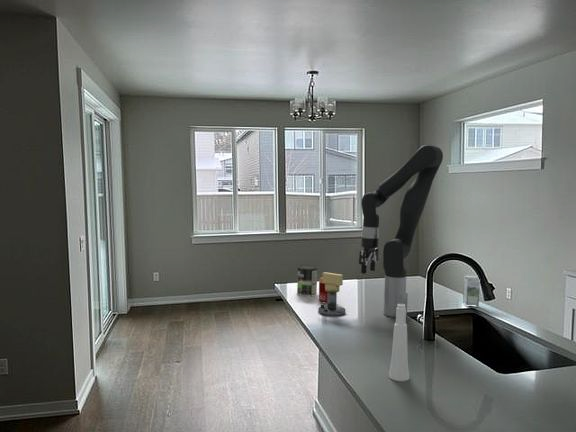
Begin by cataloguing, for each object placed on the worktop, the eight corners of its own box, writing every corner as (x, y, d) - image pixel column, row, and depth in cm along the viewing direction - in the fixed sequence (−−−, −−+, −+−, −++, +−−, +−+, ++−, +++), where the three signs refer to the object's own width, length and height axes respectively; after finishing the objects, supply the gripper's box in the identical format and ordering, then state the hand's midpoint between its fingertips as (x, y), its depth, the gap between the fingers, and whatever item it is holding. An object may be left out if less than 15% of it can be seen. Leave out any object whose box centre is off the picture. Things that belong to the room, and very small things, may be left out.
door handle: (344, 290, 205) (345, 274, 205) (337, 293, 200) (337, 276, 199) (324, 287, 211) (325, 271, 211) (316, 289, 206) (317, 273, 206)
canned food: (335, 303, 221) (336, 280, 220) (319, 303, 221) (319, 280, 221) (334, 299, 229) (335, 277, 228) (318, 299, 229) (318, 277, 228)
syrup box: (475, 304, 223) (476, 274, 222) (478, 307, 217) (480, 277, 216) (462, 303, 223) (464, 274, 222) (466, 307, 218) (467, 276, 216)
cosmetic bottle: (394, 371, 142) (396, 300, 141) (412, 376, 139) (415, 304, 137) (384, 377, 138) (387, 304, 136) (403, 383, 134) (406, 308, 132)
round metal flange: (350, 311, 207) (350, 290, 206) (336, 317, 198) (336, 296, 197) (327, 307, 214) (328, 286, 214) (313, 312, 205) (313, 291, 204)
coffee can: (302, 297, 233) (303, 269, 232) (293, 292, 242) (294, 265, 241) (320, 295, 237) (321, 267, 236) (311, 290, 246) (311, 264, 245)
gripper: (370, 239, 201) (368, 275, 203) (384, 236, 213) (382, 271, 214) (355, 237, 206) (353, 273, 207) (370, 234, 217) (368, 268, 219)
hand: (368, 272), depth 211 cm, fingers open, 8 cm apart
